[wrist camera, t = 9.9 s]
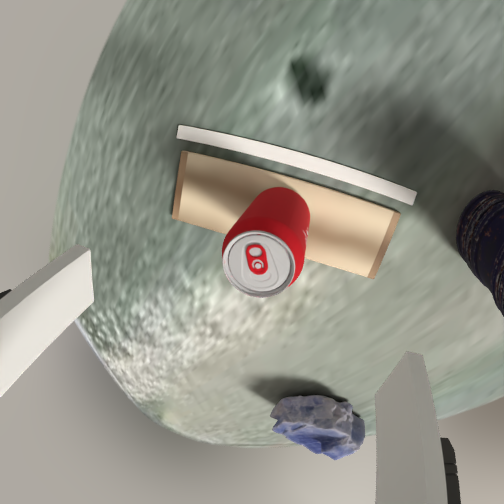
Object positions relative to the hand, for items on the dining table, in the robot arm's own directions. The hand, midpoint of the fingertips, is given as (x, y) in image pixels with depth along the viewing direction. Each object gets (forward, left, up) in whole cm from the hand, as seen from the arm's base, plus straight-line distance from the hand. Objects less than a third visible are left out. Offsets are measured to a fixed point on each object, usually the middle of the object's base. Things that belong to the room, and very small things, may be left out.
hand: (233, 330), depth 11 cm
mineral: (+31, +14, -23) cm, 42 cm away
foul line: (-3, -1, -23) cm, 23 cm away
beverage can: (+3, -1, -23) cm, 23 cm away
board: (+3, -1, -23) cm, 23 cm away
